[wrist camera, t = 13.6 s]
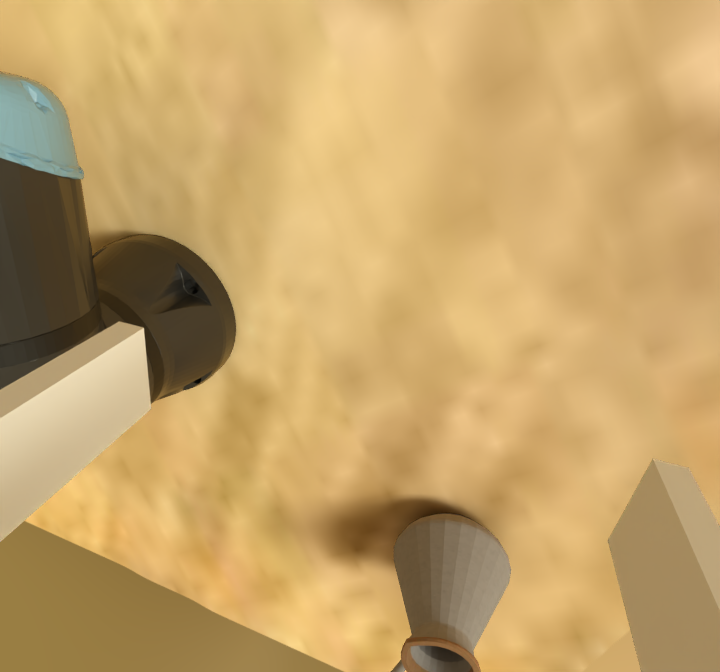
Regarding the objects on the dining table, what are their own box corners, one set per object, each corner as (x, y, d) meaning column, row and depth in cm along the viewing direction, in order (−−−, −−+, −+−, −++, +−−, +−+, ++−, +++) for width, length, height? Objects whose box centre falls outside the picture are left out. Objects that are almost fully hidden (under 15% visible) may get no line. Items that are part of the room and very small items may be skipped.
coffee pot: (446, 479, 46) (426, 626, 33) (535, 548, 47) (550, 717, 34) (329, 572, 57) (279, 711, 44) (404, 627, 58) (377, 780, 45)
